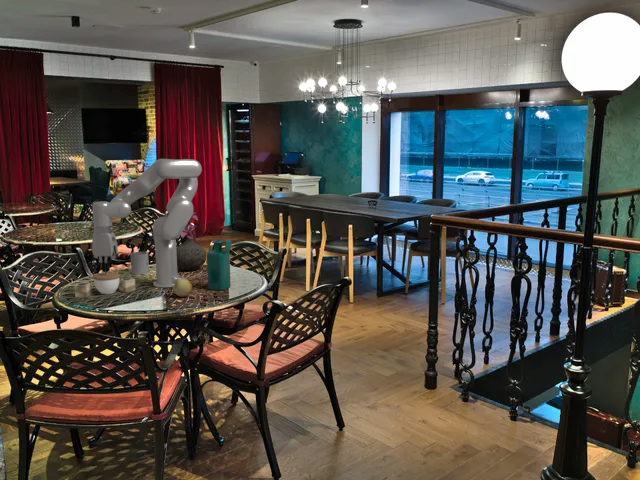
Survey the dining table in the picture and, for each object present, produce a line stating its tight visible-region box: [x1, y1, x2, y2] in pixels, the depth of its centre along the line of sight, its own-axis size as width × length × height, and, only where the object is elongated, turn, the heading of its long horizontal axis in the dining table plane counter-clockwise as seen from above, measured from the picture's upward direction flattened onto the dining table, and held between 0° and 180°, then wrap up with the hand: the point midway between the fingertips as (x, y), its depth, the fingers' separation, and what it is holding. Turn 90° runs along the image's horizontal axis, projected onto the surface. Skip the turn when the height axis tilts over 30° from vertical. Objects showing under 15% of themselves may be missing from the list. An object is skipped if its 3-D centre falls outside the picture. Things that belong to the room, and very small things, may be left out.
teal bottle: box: [206, 239, 232, 292], centre depth 262 cm, size 10×8×22 cm
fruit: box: [172, 278, 193, 298], centre depth 249 cm, size 8×8×8 cm
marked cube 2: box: [118, 277, 136, 293], centre depth 261 cm, size 5×5×5 cm
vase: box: [176, 211, 207, 272], centre depth 302 cm, size 17×17×30 cm
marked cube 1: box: [74, 282, 93, 298], centre depth 252 cm, size 5×5×5 cm
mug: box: [130, 251, 150, 275], centre depth 299 cm, size 12×9×10 cm
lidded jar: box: [93, 271, 121, 295], centre depth 256 cm, size 11×11×9 cm
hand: (106, 271), depth 256 cm, fingers closed
